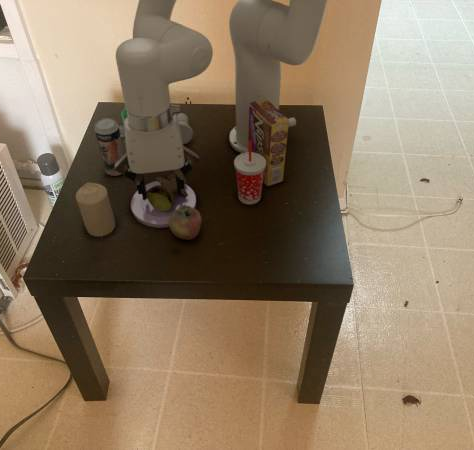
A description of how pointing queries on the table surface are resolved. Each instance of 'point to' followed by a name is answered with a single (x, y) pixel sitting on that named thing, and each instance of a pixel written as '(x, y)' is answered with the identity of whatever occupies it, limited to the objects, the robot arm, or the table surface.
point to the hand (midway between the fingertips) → (162, 192)
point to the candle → (95, 209)
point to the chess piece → (184, 128)
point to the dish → (155, 217)
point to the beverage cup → (249, 175)
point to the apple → (185, 222)
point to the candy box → (268, 138)
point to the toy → (164, 193)
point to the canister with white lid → (109, 144)
